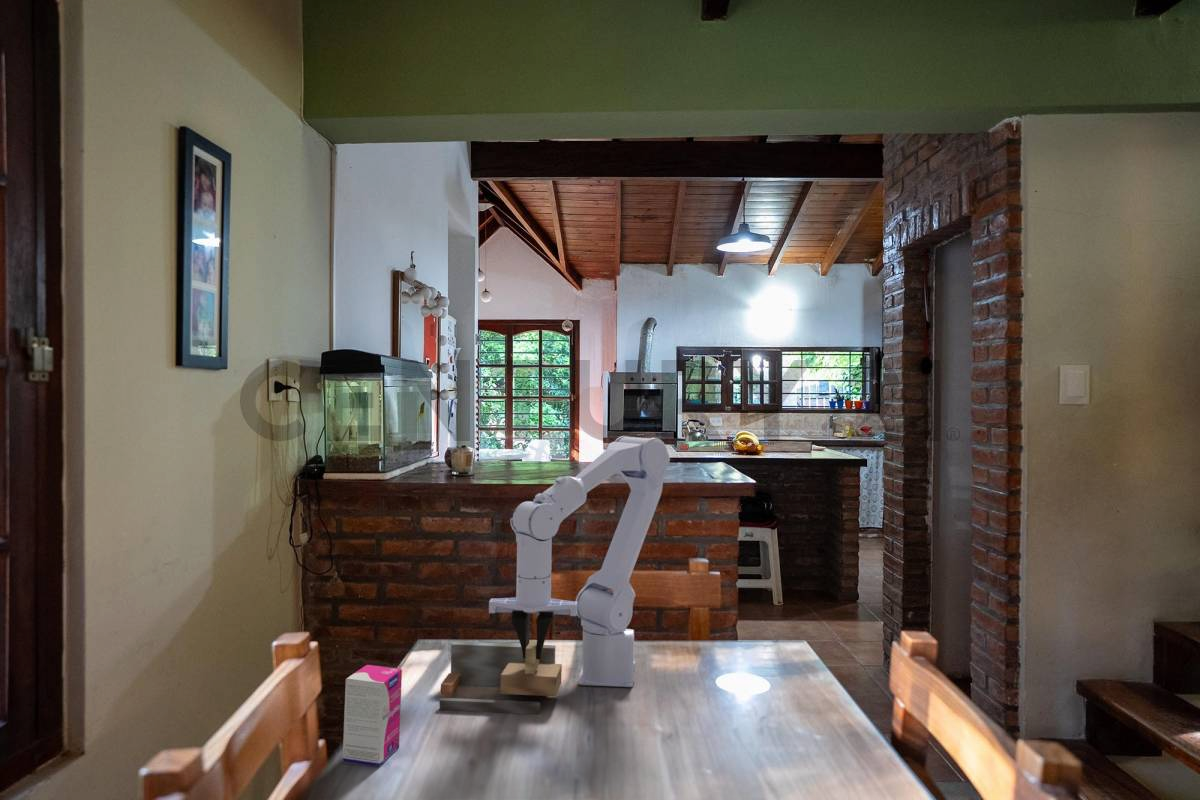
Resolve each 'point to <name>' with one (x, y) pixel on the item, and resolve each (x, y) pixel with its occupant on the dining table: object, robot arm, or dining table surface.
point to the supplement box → (372, 715)
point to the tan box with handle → (531, 676)
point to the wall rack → (486, 675)
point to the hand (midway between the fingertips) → (532, 657)
